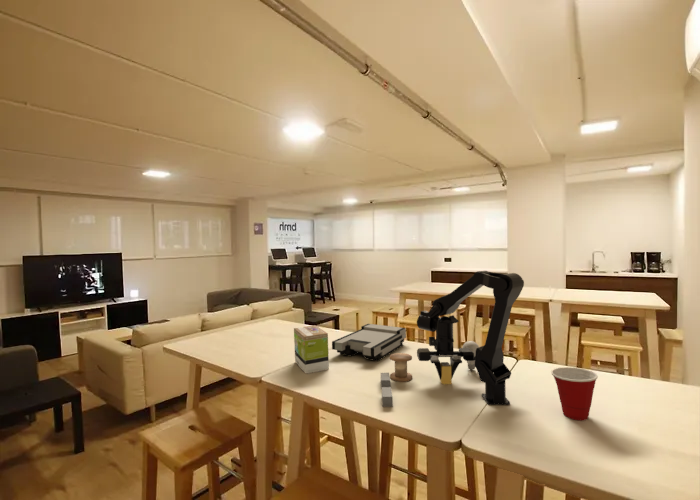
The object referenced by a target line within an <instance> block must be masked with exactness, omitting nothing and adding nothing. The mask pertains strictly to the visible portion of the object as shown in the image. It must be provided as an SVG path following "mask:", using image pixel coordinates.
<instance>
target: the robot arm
mask: <svg viewBox="0 0 700 500" xmlns="http://www.w3.org/2000/svg"><path fill="white" fill-rule="evenodd" d="M524 285H525V281H524V279H523V277H522V276H521V275H519V274H518V273H515V272H511V273H510V272H509V273H501V272H491V271H488V270H481V271H480V270H479V271H476V272H474V273H473V275H472V276H470V277H469V278H468V279H467V280H465V281H464V282H463V283H462V284H460V285H459V286H457V287H456V288H455V289H454V290H453V291H451V292H450V293H448V294H446V295H443V296H440V297H438V298H437V299H434V300H433V301H432V307H431V308H430V310H429V311H427V310H421V311H420V313H419V316H418V317H417V320H416V326H417V328H418V329H420V330H424V331H428V332H431V333H432V332H433V333H434V332H435V336H428V346H430V347H434V348H433V349H434V350H435V351H433V350H432V351H430V349H429V348H427V347H424V348H423V347H418V348H417V350H416V357H417V359H418V361H420V362H430V363H431V364H434V367H435V368H436V372H437V375H438V378H439V380H440V379H441V366H440V363H441V361H440V359H439V358H449V360H450V361H449V364H450V366H451V376H452V378H453V377H454V375H455V372H456V370H457V368H458V367H459V365H460V364H462V363H463V360H464V361H465V362H467V361H474V360H475V369H476V371H477V374H478V377H479V381H480V382H482V383H484V386H485V387H484V391H485V392H484V393H481V396H482V398H483V399H484V401H485V402H486V403H487V404H488V405H511V402H510V400H509V399H508V398H507V395H506V389H507V387H506V380H509V379H510V378H511V375H512V371H510V369H509V368H508V367H507V365H506V364H505V363H504V359H505V358H504V357H505V356H504V352H503V343H504V340H505V336H506V332H507V329H508V324H509V320H510V315H511V312H512V307H513V305H514V303H515V302H516V301H517V299H518V298H519V297H520V295H521V293H522V291H523V288H524ZM483 286H484V287H486V288H489V289H492V294H493V297H494V306H493V310H492V315H491V318H490V321H489V327H488V330H487V334H486V338H485V343H484V345H482V346H479V348H477V349H476V354H475V355H474V353H473V352H472V351H471V350H470V349H469V348H463V347H459V348H458V350H454V342H455V340H454V324H457V323H459V322H460V321H459V319H457V318H456V317H455V315H454V314H453V313H455V312H456V311H457V309H459V307H460V305H461V304H462V302H463V301H465V300H466V299H467V298H468V297H470V296H471V295H473V294H474V293H475V292H477V291H478V290H479V289H481V288H482V287H483ZM450 314H451V315H450ZM452 314H453V315H452ZM446 315H449V316H446ZM462 359H463V360H462Z"/></svg>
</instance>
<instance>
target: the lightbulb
mask: <svg viewBox="0 0 700 500" xmlns="http://www.w3.org/2000/svg"><path fill="white" fill-rule="evenodd" d="M479 347H480V346H479V344H478V343H477V342H475V341H474V340H468V341H465V342H464V343H463V345H462V348H469V349H470V350H471V351H472V352H473V353H474V355H475V354H476V349H477V348H479ZM466 363H467V369H468V370H470V371H474V370H475V369H476V367H475V360H474V361H466Z"/></svg>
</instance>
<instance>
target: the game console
mask: <svg viewBox="0 0 700 500" xmlns="http://www.w3.org/2000/svg"><path fill="white" fill-rule="evenodd" d="M360 327H361V328H360V329H358V330H356V331H353V332H351V333H349V334H346V335H344V336H342V337H340V338H337V339H335V340H332V341H331V349H332V350H335V351H336V353H339V354H340V355H343V354H346V355H345V356H348V355H351V356H350V357H352V355H353V356H354V354H355V355H356V354H358V353H362V358H365V359H366V358H368V359H367V360H370V359H373V360H372V361H376V360H379V361H380V359H381V358H382V359H384V358H385V357H387V356H389V355H390V354H392V353H393V352H395V351H397V350H398V349H399V348H401V347H403V345H404V344H403V343H404V342H405V339H406V338H407V328H406V327H402V326H401V327H399V326H390V325H385V324H384V325H383V324H382V325H381V324H373V323H367V324H364V325H361V326H360ZM400 346H401V347H400ZM397 348H398V349H397ZM394 350H395V351H394ZM357 352H358V353H357ZM389 353H390V354H389ZM386 355H387V356H386ZM384 356H385V357H384ZM383 357H384V358H383ZM382 359H381V360H382Z"/></svg>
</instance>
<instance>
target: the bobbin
mask: <svg viewBox="0 0 700 500" xmlns="http://www.w3.org/2000/svg"><path fill="white" fill-rule="evenodd" d="M389 359H390V360H391V361H393V362H394V372H391V373H389V376H390V380H392V381H394V382H400V383H401V382H402V383H406V382H410V381H411V380H413V374H412V373H409V372H408V362H409V361H412V360H413V356H412V355H411V354H409V353H404V352H395V353H390V354H389Z"/></svg>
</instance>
